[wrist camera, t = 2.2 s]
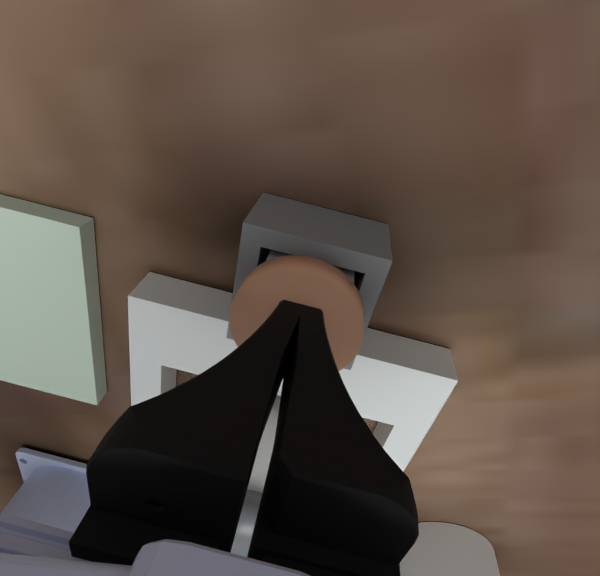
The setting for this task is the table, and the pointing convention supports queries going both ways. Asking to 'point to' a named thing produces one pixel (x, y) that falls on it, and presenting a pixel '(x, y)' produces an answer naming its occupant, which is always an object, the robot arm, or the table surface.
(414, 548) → the cylindrical container
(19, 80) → the table surface
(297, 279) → the plunger
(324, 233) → the housing
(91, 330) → the mat
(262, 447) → the cylinder
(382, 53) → the table surface
